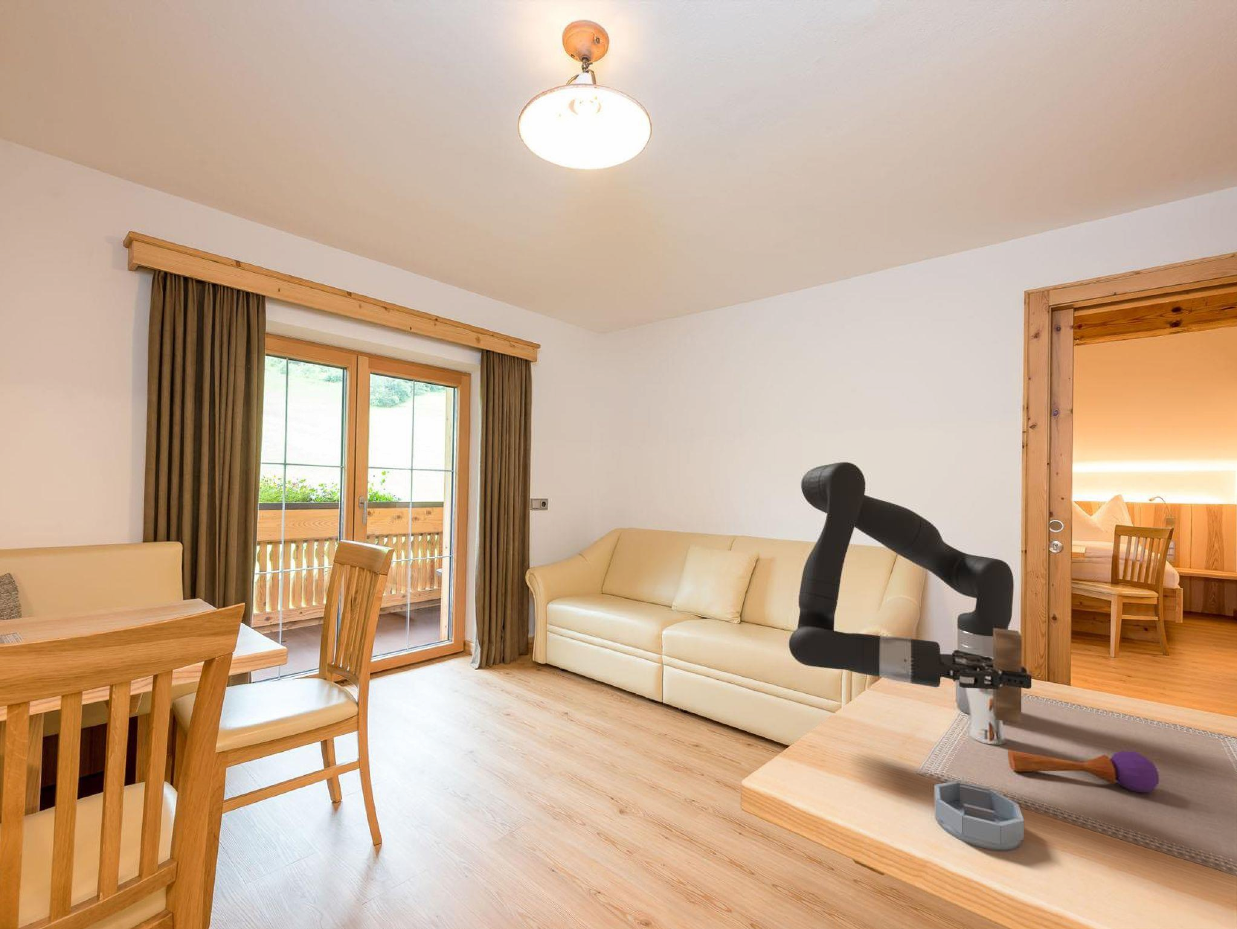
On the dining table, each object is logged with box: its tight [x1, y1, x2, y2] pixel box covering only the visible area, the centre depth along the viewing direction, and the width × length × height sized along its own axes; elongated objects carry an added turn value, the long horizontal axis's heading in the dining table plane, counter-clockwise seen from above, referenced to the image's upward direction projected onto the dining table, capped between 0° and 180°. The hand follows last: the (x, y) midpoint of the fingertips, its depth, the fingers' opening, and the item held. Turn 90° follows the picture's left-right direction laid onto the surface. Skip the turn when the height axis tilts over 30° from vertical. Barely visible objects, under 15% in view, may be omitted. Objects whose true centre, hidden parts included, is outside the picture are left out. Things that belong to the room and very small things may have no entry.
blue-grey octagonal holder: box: [933, 780, 1025, 852], centre depth 80 cm, size 10×10×4 cm
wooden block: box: [993, 628, 1023, 725], centre depth 92 cm, size 3×3×14 cm
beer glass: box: [966, 655, 1006, 746], centre depth 109 cm, size 7×7×15 cm
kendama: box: [1007, 749, 1160, 793], centre depth 94 cm, size 6×6×20 cm
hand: (1027, 677), depth 91 cm, fingers closed on wooden block, 3 cm apart
